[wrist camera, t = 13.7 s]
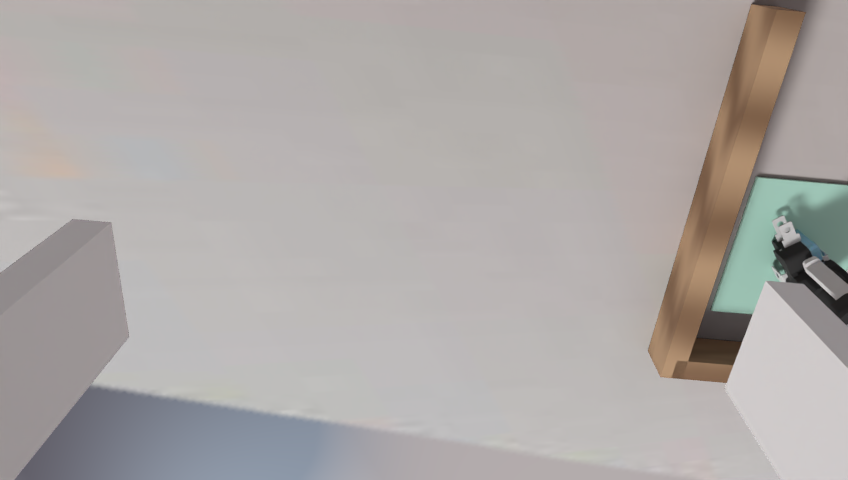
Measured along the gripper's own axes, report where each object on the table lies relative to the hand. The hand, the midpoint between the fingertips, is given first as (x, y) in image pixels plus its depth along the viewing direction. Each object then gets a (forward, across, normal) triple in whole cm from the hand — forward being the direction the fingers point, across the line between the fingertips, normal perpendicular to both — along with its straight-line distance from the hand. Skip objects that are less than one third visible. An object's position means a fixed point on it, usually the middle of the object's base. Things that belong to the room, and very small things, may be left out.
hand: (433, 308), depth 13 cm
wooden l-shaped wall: (+27, +22, -7) cm, 36 cm away
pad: (+27, +24, -10) cm, 38 cm away
